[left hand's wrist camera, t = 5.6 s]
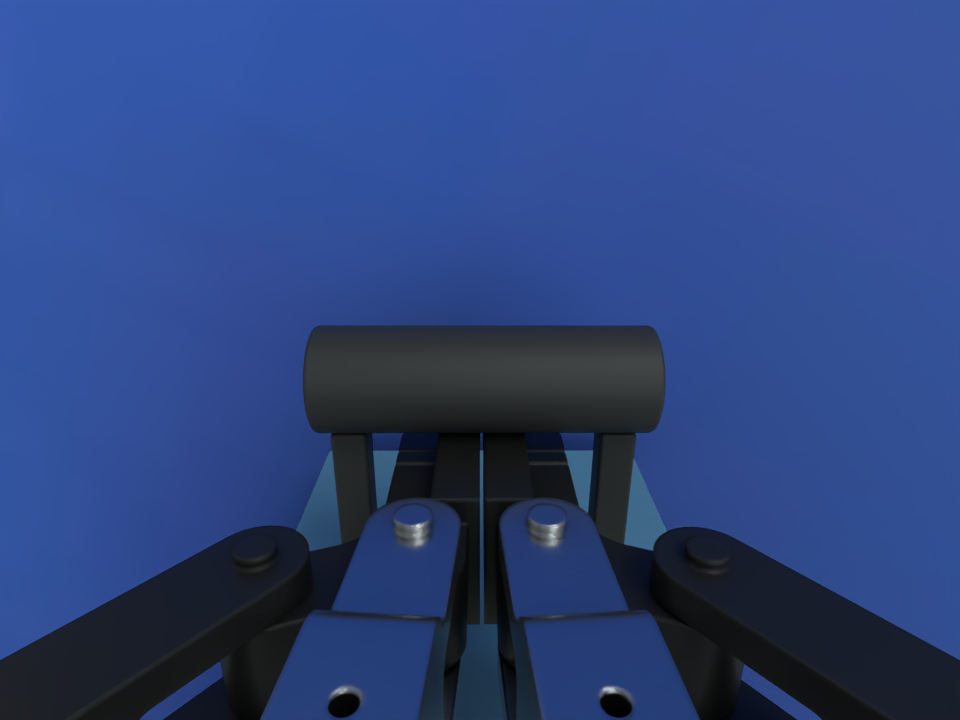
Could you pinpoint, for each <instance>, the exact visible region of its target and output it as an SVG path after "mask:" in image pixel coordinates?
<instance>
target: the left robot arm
mask: <svg viewBox="0 0 960 720" xmlns="http://www.w3.org/2000/svg"><path fill="white" fill-rule="evenodd" d="M483 548H484V624H497V637H498V654H497V671H498V679H499V687H500V695H501V703H502V712H503V720H797V719H795V718H794V717H792V716H791V715H790V714H788V713H787V712H785V711H784V710H783V709H781V708H780V707H778V706H777V705H776V704H774V703H773V702H771V701H770V700H769V699H767V698H766V697H764V696H763V695H762V694H760V693H759V692H757V691H756V690H755V689H753V688H752V687H751V686H749V685H748V684H746V683H745V682H744V681H742V680H741V677H742V672H743V667H744V664H745V665H747V666H748V667H750V668H751V669H753V670H754V671H755V672H757V673H758V674H760V675H761V676H763V677H764V678H766V679H767V680H768V681H770V682H771V683H773V684H774V685H776V686H777V687H779V688H780V689H781V690H783V691H784V692H786V693H787V694H789V695H790V696H792V697H793V698H794V699H796V700H797V701H799V702H800V703H802V704H803V705H804V706H806V707H807V708H809V709H810V710H812V711H813V712H814V713H815V714H817V715H818V716H819V717H820V718H821V719H822V720H960V660H958V659H956V658H955V657H953V656H951V655H949V654H947V653H945V652H943V651H942V650H940V649H938V648H936V647H934V646H932V645H931V644H929V643H927V642H925V641H923V640H921V639H919V638H918V637H916V636H914V635H912V634H910V633H908V632H907V631H905V630H903V629H901V628H899V627H897V626H895V625H894V624H892V623H890V622H888V621H886V620H884V619H883V618H881V617H879V616H877V615H875V614H873V613H872V612H870V611H868V610H866V609H864V608H862V607H860V606H859V605H857V604H855V603H853V602H851V601H849V600H848V599H846V598H844V597H842V596H840V595H838V594H836V593H835V592H833V591H831V590H829V589H827V588H825V587H824V586H822V585H820V584H818V583H816V582H814V581H812V580H811V579H809V578H807V577H805V576H803V575H801V574H800V573H798V572H796V571H794V570H792V569H790V568H788V567H787V566H785V565H783V564H781V563H779V562H777V561H776V560H774V559H772V558H770V557H768V556H766V555H764V554H763V553H761V552H759V551H757V550H755V549H753V548H752V547H750V546H748V545H746V544H744V543H742V542H740V541H739V540H737V539H735V538H733V537H731V536H729V535H727V534H724V533H721V532H718V531H715V530H711V529H706V528H700V527H682V528H676V529H672V530H669V531H667V532H665V533H663V534H662V535H661V536H659V537H658V539H657V540H656V541H655V544H654V546H653V551H652V550H647V549H643V548H638V547H634V546H629V545H625V544H621V543H618V542H615V541H613V540H610V539H608V538H606V537H604V536H602V535H601V534H599V533H598V532H597V529H596V527H595V524H594V522H593V520H592V518H591V517H590V516H589V514H588V513H587V512H586V511H584V510H583V509H582V508H580V507H579V504H578V500H577V496H576V492H575V488H574V484H573V480H572V477H571V473H570V469H569V465H568V461H567V457H566V453H565V449H564V445H563V441H562V437H561V435H560V434H559V433H483ZM467 624H480V433H404V434H403V435H402V439H401V443H400V447H399V453H398V456H397V460H396V466H395V468H394V472H393V476H392V480H391V484H390V488H389V492H388V497H387V501H386V504H385V505H383V506H382V507H380V508H378V509H377V510H376V511H375V512H373V513H372V515H371V516H370V517H369V518H368V520H367V522H366V524H365V527H364V529H363V532H362V534H361V537H359V538H357V539H355V540H352V541H350V542H347V543H344V544H340V545H336V546H332V547H327V548H323V549H318V550H314V551H309V544H308V542H307V539H306V538H305V537H304V536H303V535H302V534H301V533H300V532H298V531H296V530H294V529H291V528H288V527H282V526H261V527H255V528H250V529H247V530H243V531H240V532H238V533H235V534H233V535H231V536H229V537H227V538H225V539H223V540H221V541H220V542H218V543H216V544H214V545H212V546H210V547H208V548H207V549H205V550H203V551H201V552H199V553H197V554H196V555H194V556H192V557H190V558H188V559H186V560H184V561H183V562H181V563H179V564H177V565H175V566H173V567H172V568H170V569H168V570H166V571H164V572H162V573H160V574H159V575H157V576H155V577H153V578H151V579H149V580H148V581H146V582H144V583H142V584H140V585H138V586H136V587H135V588H133V589H131V590H129V591H127V592H125V593H124V594H122V595H120V596H118V597H116V598H114V599H113V600H111V601H109V602H107V603H105V604H103V605H101V606H100V607H98V608H96V609H94V610H92V611H90V612H89V613H87V614H85V615H83V616H81V617H79V618H77V619H76V620H74V621H72V622H70V623H68V624H66V625H65V626H63V627H61V628H59V629H57V630H55V631H53V632H52V633H50V634H48V635H46V636H44V637H42V638H41V639H39V640H37V641H35V642H33V643H31V644H29V645H28V646H26V647H24V648H22V649H20V650H18V651H17V652H15V653H13V654H11V655H9V656H7V657H5V658H4V659H2V660H0V720H139V719H140V718H141V717H142V716H143V715H144V714H145V713H146V712H147V711H149V710H150V709H151V708H153V707H154V706H156V705H157V704H158V703H160V702H161V701H163V700H164V699H166V698H167V697H169V696H170V695H171V694H173V693H174V692H176V691H177V690H179V689H180V688H181V687H183V686H184V685H186V684H187V683H189V682H190V681H192V680H193V679H194V678H196V677H197V676H199V675H200V674H202V673H203V672H205V671H206V670H207V669H209V668H210V667H212V666H213V665H215V664H216V663H217V662H219V661H220V663H221V668H222V673H223V677H222V678H221V679H219V680H218V681H216V682H215V683H214V684H212V685H211V686H210V687H208V688H207V689H205V690H204V691H203V692H201V693H200V694H198V695H197V696H196V697H194V698H193V699H191V700H190V701H189V702H187V703H186V704H184V705H183V706H182V707H180V708H179V709H177V710H176V711H175V712H173V713H172V714H170V715H169V716H168V717H166V718H165V719H164V720H457V712H458V704H459V696H460V688H461V679H462V671H463V653H464V651H465V648H466V643H467Z"/></svg>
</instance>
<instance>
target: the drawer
mask: <svg viewBox="0 0 960 720" xmlns="http://www.w3.org/2000/svg"><path fill="white" fill-rule="evenodd" d="M303 394H304V403H305V410H306V414H307V418H308V421H309V424H310V426H311V428H312V429H313V430H314V431H315V432H317V433H332V435H331V444H332V451H329V453H328V456H327V458H326V460H325V463H324V465H323V467H322V470H321V472H320V475H319V477H318V479H317V482H316V484H315V486H314V489H313V491H312V493H311V496H310V498H309V501H308V503H307V505H306V508H305V510H304V512H303V515H302V517H301V520H300V522H299V524H298V527H297V529H296V531H298V532H300V533H301V534H302V535H303V536H304V537H305V538H306V539H307V542H308V544H309V551H314V550H318V549H323V548H327V547H332V546H336V545H340V544H344V543H347V542H350V541H352V540H355V539H357V538H359V537H361V534H362V532H363V529H364V527H365V524H366V522H367V520H368V518H369V517H370V516H371V515H372V513H373V512H375V511H376V510H377V509H378V508H380V507H382V506H383V505H385V504H386V501H387V497H388V492H389V488H390V484H391V480H392V476H393V472H394V468H395V466H396V460H397V456H398V453H399V451H373V441H372V433H594V445H593V450H565V453H566V457H567V461H568V465H569V469H570V473H571V477H572V480H573V484H574V488H575V492H576V496H577V500H578V504H579V507H580V508H582V509H583V510H584V511H586V512H587V513H588V514H589V516H590V517H591V518H592V520H593V522H594V524H595V527H596V529H597V532H598V533H599V534H601V535H602V536H604V537H606V538H608V539H610V540H613V541H615V542H618V543H621V544H625V545H629V546H634V547H638V548H643V549H647V550H652V551H653V546H654V544H655V541H656V540H657V539H658V537H659V536H661V535H662V534H663V533H665V532H667V531H666V529H665V526H664V524H663V522H662V520H661V517H660V515H659V513H658V511H657V509H656V506H655V504H654V502H653V500H652V497H651V495H650V493H649V491H648V489H647V486H646V484H645V482H644V480H643V477H642V475H641V473H640V471H639V468H638V466H637V464H636V462H635V460H634V451H635V441H636V435H635V433H649V432H651V431H653V430H655V429H656V427H657V425H658V423H659V421H660V418H661V414H662V410H663V404H664V396H665V365H664V357H663V351H662V347H661V343H660V340H659V337H658V335H657V333H656V331H655V330H654V329H653V328H652V327H650V326H317V327H315V328H314V329H313V330H312V332H311V334H310V336H309V339H308V343H307V347H306V351H305V358H304V368H303ZM497 654H498V637H497V624H484V548H483V450H480V624H467V643H466V648H465V651H464V653H463V671H462V679H461V688H460V696H459V704H458V712H457V720H503V712H502V703H501V695H500V687H499V679H498V671H497Z"/></svg>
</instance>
